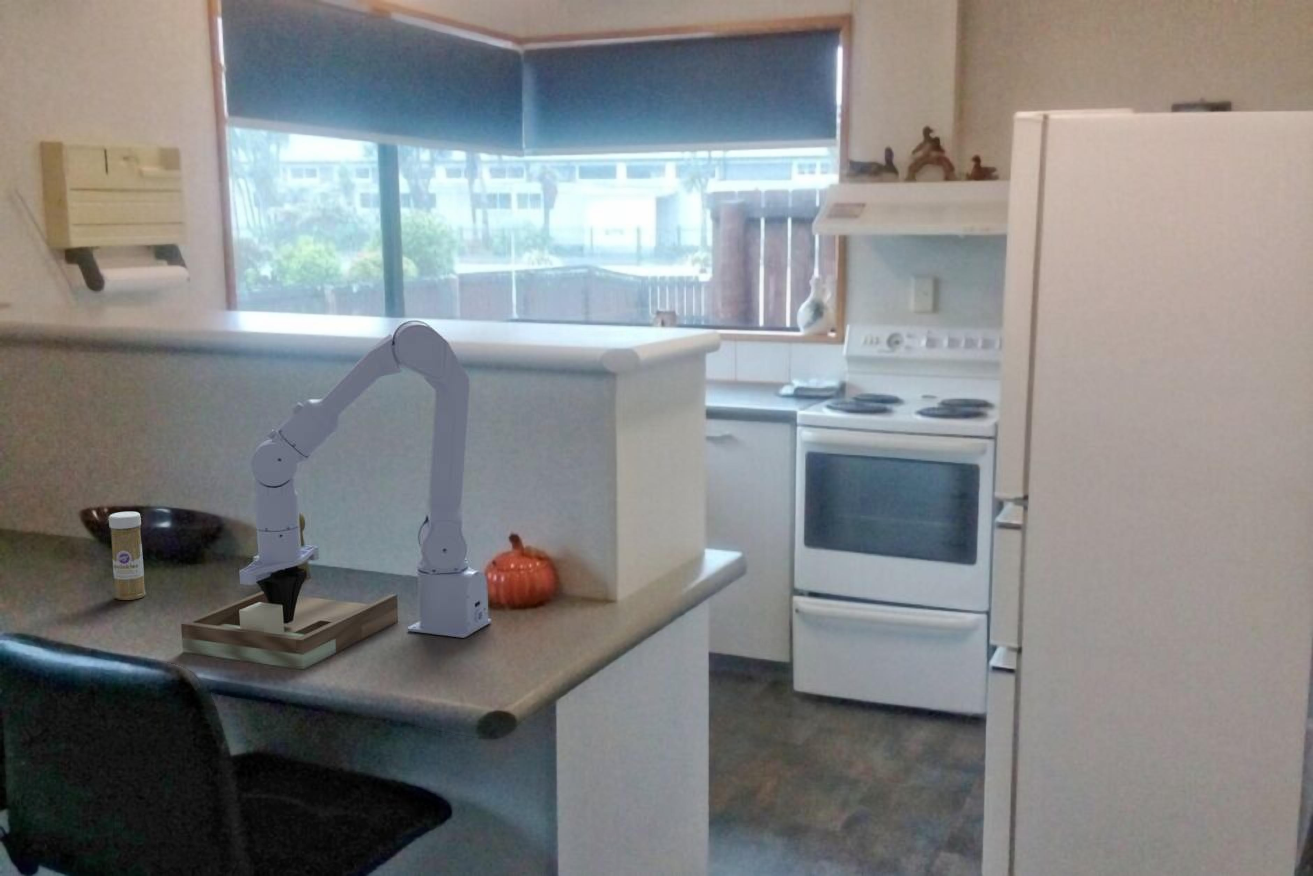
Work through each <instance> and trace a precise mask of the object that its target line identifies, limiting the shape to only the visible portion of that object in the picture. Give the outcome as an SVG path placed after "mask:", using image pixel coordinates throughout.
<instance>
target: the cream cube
mask: <svg viewBox="0 0 1313 876" xmlns="http://www.w3.org/2000/svg"><path fill="white" fill-rule="evenodd" d="M239 615H240V629H245V630H252V631H260V632H267V633H275V634H283V633H284V622H283V605H278V604H270V603H262V602H258V603H256V604H253V605H251V606H248V607H246V608H243V609H241V610H239Z"/></svg>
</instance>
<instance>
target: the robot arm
mask: <svg viewBox="0 0 1313 876" xmlns="http://www.w3.org/2000/svg"><path fill="white" fill-rule="evenodd" d="M459 360H460V359H458V357H457V356H456V353H455V352H454V351H453V348H452V347H451V345H450V344H449V342H448V341H447V339H445V337H443V336H442V335H441V334H440V333H439V332H437V331H436V330H435V329H434V328H433V327H432V326H430V325H429V324H428V323H426V322H424V321H421V320H415V319H414V320H408V321H405V322H403V323H401V324H400V325H399V326H398V327H397V328H396V329H395V331H394V333H393V335H392V333H389V334H388V335H386V336H385V337H383V338H382V339H381V340H380V341H378V342H377V343H376V344H374V345H373V346H372V347H371V348H370V349H369V350H368V351H367V352H366V353H365V354H364V355H362V357H361V358H360V359H359V360H358V361H356V363H355V364H354V365H353V366H352V367H351V368H350V370H349V371H348V372H346V374H345V375H343V376H342V378H341V379H340V380H339V381H338V382H336V384H335V385H334V386H333V387H332V388H331V390H329V392H327V393H326V394H325V395H324V397H322V398H319V399H318V398H317V399H315V398H313V399H312V398H311V399H307V400H306V401H304V402H303V403H301V402H297V403H296V404H295V405H294V406H293V407H292V412H293V413H292V414H291V415H290V416H289V417H288V418H287V419H286V420H285V421H284V422H283V423H282V424H281V425H280V426H279V427H278V428H277V429H276V430H275V429H271V430H270V431H269V432H268V433H267V437H268V438H269V439H268V440H265V441H262V442H261V443H260V444H259V445H258V446H257V447H256V449H255V451H254V452H253V456H252V458H251V463H250V468H251V472H252V474H253V476H254V478H255V481H254V483H253V485H254V490H255V495H254V509H255V510H254V511H255V525H256V527H255V528H256V540H257V553H258V554H257V555H255V556H253V559H252V560H253V561H252V562H251V563H250V564H249V565H247V566H245V567H244V568H242V569H239V571H238V572H239V584H240V585H246V586H254V585H256V584H257V585H258V586H259V588H260V589H261V591H263V592H264V594H265V596H266V598H267V600H268V602H269V603H270V604H278V605H283V622H284V623H285V624H287V623H290V622H292V621H293V618H294V613H295V608H296V603H297V599H298V596H300V591H301V590H302V587H303V584H304V583H305V581H306V580H305V579H306V577H307V570H306V569H300V568H298V565H300V564H303V563H305V562H308V563H309V562H310V561H313V562H314V561H318V560H319V559H320V554H319V546H318V545H309V544H308V545H307V544H305V546H303V547H301V539H300V523H299V513H300V511H299V509H300V508H299V494H298V492H297V489H296V476H295V475H296V473H297V467H298V464H299V463H301V462H306V461H307V460H308V459H309V458H310V457H311V456H312V455H314V453H316V452H317V450H318V449H320V448H321V446H322V445H323V444H324V443H325V442H326V441H328V439H330V438H331V437H332V436H333V435H334V434H335V433H336V432H337V431H338V430H339V416H340V414H341V413H343V412H344V411H345V410H346V409H347V408H348V407H349V406H350V405H351V404H352V403H353V402H355V401H356V399H358V398H359V397H361V395H362V394H363V393H365V391H367V389H368V388H370V387H371V386H372V385H373V384H375V382H377V380H378V379H380V378H381V377H385V376H390V375H395V374H400V373H401V372H402V370H401V368H400V365H403V366H404V367H405V368H407V369H409V370H411V371H412V372H414V373H416V374H419V375H420V376H422V377H423V379H424V380H425V381H426V382H427V383H428V384H429V385H430V386H431V387H432V388H433V389H434V391H435V392H434V393H435V395H434V407H433V408H434V410H433V424H432V425H433V427H432V436H431V437H432V439H431V440H432V441H431V458H430V469H429V486H428V498H427V503H426V508H425V517H424V520H423V522H422V523H421V524H420V527H419V528H418V531H417V542H418V544H419V546H420V548H421V550H420V551H421V555H422V559H421V560H420V561H419V562H418V563H417V566H416V567H417V588H418V611H419V612H418V613H419V621H417V622H415V623H413V624H412V625H409V626H408V627H407V631H408V632H414V633H415V632H416V633H422V634H429V635H430V634H431V635H438V636H445V637H446V636H447V637H454V638H455V637H456V638H461V639H462V638H463V639H464V638H466V637H468V636H470V635H472V634H474V632H475V633H476V632H477V631H478V630H480V629H481V628H484V627H485V626H488V625H489V624H490V623H492V619H491V618H489V597H488V593H489V592H488V582H487V578H486V575H485V574H484V572H482V571H480V570H476V569H473V568H471V567H470V565H469V561H468V559H467V558H466V557H467V554H468V553H467V552H468V544H467V542H466V541H467V540H466V539H465V537H464V535H463V512H462V496H463V481H464V469H465V456H466V455H465V453H466V438H467V427H468V426H467V424H468V413H469V412H468V411H469V398H470V397H469V396H470V395H469V394H470V378H469V376H468V374H467V372H466V370H465V368H464V367H463V365H462V364H461V363H460V361H459Z"/></svg>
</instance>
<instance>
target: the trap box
mask: <svg viewBox="0 0 1313 876" xmlns="http://www.w3.org/2000/svg"><path fill="white" fill-rule="evenodd" d="M258 602H262V603H269V602H268V600H267V598H266V596H265V594H264V592H263V591H262V590H261V591H260V592H257V593H255V594H252V595H249V596H247V597H245V598H242V599H239V600H237V601H234V602H232V603H229V604H227V605H223V606H221V607H219V608H217V609H214V610H211V611H209V612H207V613H204V614H202V615H199V616H197V617H194V618H192V619H189V620H186V621H183V622H181V623H180V629H181V630H180V631H181V639H182V640H181V641H182V642H181V643H182V644H181V645H182V652H183V653H188V654H193V655H194V654H195V655H202V656H207V657H209V656H210V657H216V658H223V659H229V660H235V661H236V660H237V661H242V662H249V663H250V662H251V663H257V664H261V665H262V664H263V665H270V666H276V667H285V668H290V669H299V670H305V669H307V668H309V667H311V666H313V665H315V664H317V663H319V662H321V661H323V660H324V659H326V658H330V657H331V656H333V655H334V654H337V653H339V652H340V651H342V650H344V649H346V648H348V647H350V646H352V645H354V644H355V643H358V642H360V641H362V640H364V639H366V638H367V637H369V636H372V635H374V634H376V633H378V632H379V631H381V630H384V629H385V628H387V627H389V626H391V625H393V624H395V623H398V622H399V610H398V609H399V608H398V607H399V606H398V605H399V604H398V594H395V593H391V594H389V595H386V596H384V597H382V598H380V599H378V600H376V601H373V602H371V603H369V604H368V603H360V602H351V601H345V600H344V601H343V600H335V599H326V598H317V597H310V596H303V595H302V596H301V595H298V599H297V603H296V608H295V613H294V618H293V621H292V622H290V623H287V624H285V623H284V633H283V634H275V633H267V632H260V631H252V630H245V629H240V615H239V610H241V609H243V608H246V607H248V606H251V605H253V604H256V603H258Z"/></svg>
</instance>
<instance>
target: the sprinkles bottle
mask: <svg viewBox="0 0 1313 876" xmlns="http://www.w3.org/2000/svg"><path fill="white" fill-rule="evenodd" d="M141 520H142V518H141V514H140V513H139V512H138V511H120V512H114V513H112V514H110V515H109V517H108V525H109V528H110V535H111V549H112V551H111V553H112V572H113V579H114V589H115V594H114V598H115V599H117V600H119V601H120V600H121V601H133V600H137V599H138V600H139V599H140V598H141V599H142V598H143V597H144V596H146V593H147V592H146V590H145V577H144V575H145V570H144V568H145V567H144V559H143V546H142V545H143V544H142V537H141V525H142V521H141Z"/></svg>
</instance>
